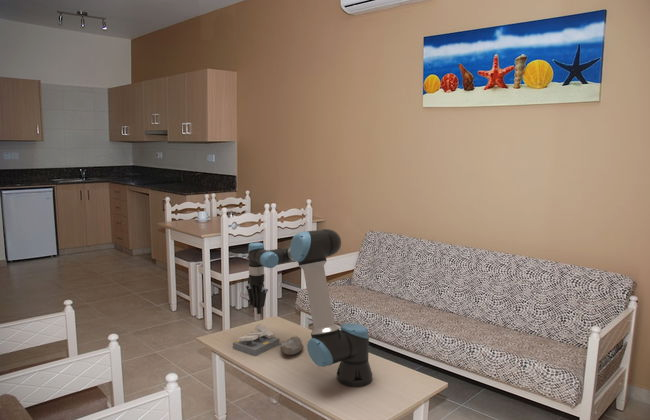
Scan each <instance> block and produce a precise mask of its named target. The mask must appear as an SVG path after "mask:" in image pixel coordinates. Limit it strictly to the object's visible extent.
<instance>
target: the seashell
mask: <svg viewBox="0 0 650 420" xmlns="http://www.w3.org/2000/svg"><path fill="white" fill-rule="evenodd" d="M303 349H304V344H303V342H302V340H301V339H300V337H298V336H292V337H290V338H288V339H286V340H284V341H281V343H280V350H281V351H282V353H284V354H285V355H287V356H289V355H291V356H293V355H295V354H298V353H299V352H301V350H303Z"/></svg>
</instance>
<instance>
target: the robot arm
mask: <svg viewBox="0 0 650 420" xmlns="http://www.w3.org/2000/svg"><path fill="white" fill-rule="evenodd" d="M341 247H342V238H341V236H340V234H338V233H337V232H336V231H335V230H333V229H329V228H328V229H327V228H325V229H316V230H308V231H307V230H306V231H303V232H301V231H300V232H298V233H296V234H295V235H293V237H292V240H291V241H290V245H289V246H288V247H282V248H275V249H265V244H264V243H262V242H250V243H249V244H248V250H247V252H248V255H247V256H248V282H249V284H248V285H246V286H245V288H246V290H247V295H248V301H249V305H250V306H252V307H253V308H252V309H253V313H254V321H255V322H256V321H257V322H258V321H259V320H260V321H261V314H262V308H263V307H265V303H266V298H267V293H268V292H269V290H268V288H265V285H264V282H265V268H267V269H274V268H275V267H276V266H278V265H282V264H283V265H285V264H289V263H298V267H299V268H300V269H301V270H302V271H303V275H304V281H305V287H306V292H307V299H308V303H309V310H310V315H311V316H310V317H311V321H312V326H313V329H312V330H311V332H310V335H311V338H310V339H309V340H308V341H307V344H306V347H307V348H306V349H307V352H308V355H309V359H310V360H311V361H312V362H313V363H314V364H315V365H317V366H318V367H321V368H323V367H328V366H329V367H330V366H332V365H334V364H337V363H339V365H338V368H337V370H336V381H337V382H338V383H340V384H341V385H342V386H347V387H354V388H357V387H360V388H361V387H363V386H367V385H370V384H371V383H372V381H373V371H372V368H371V365H370V361H369V352H370V351H369V349H370V347H369V346H370V345H369V344H370V342H369V341H370V335H369V329H368V327H366V326H365V325H362V324H359V323H351V322H349V323H348V322H347V323H343V324H341V326H340V328H339V326H337V325H336V324H335V320H334V313H333V309H332V304H331V297H330V293H329V287H328V282H327V281H328V280H327V276H326V271H325V265H326V263H327V258H328V257H332V256H334V255H336V254H337V253H338V252H339V251H340V249H341Z"/></svg>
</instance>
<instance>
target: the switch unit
mask: <svg viewBox="0 0 650 420" xmlns="http://www.w3.org/2000/svg"><path fill="white" fill-rule="evenodd" d="M279 345H280V337H275V336H273V337H271V338H267V337H266V336H261V337H258V338H257V339H255V340H251V341H238V339H237V340H236V341H233V342H232V349H233V348H234V349H233V350H236V349H237V350H236V351H240V352H242V353H245V354H248V355H251V356H254V357H257V356H258V355H261V354H262V353H265V352H267V351H269V350H271V349H274V348H275V347H276V346H279Z"/></svg>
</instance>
